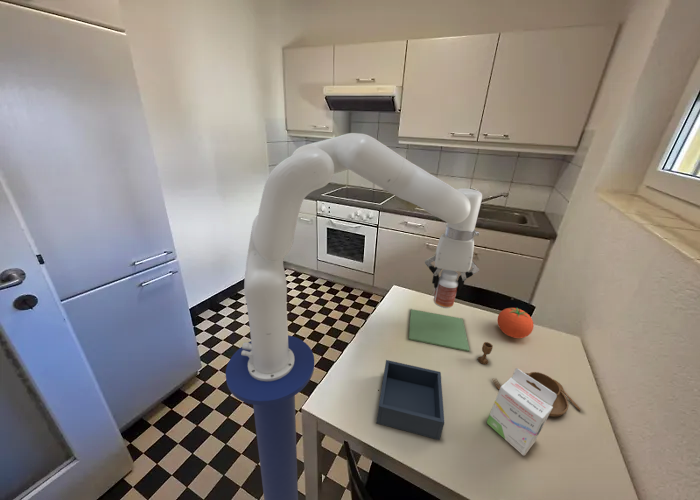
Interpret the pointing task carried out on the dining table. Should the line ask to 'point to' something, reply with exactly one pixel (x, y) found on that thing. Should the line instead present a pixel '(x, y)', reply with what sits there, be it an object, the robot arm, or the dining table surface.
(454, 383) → the dining table surface
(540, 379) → the place setting
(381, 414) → the blue open box
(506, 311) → the tomato
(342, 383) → the dining table surface
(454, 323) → the mat
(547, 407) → the ink box
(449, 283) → the pill bottle
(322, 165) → the robot arm
